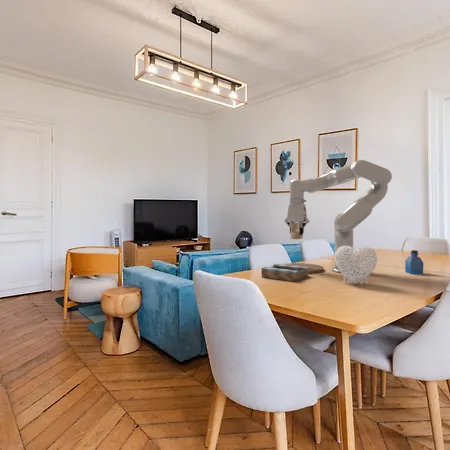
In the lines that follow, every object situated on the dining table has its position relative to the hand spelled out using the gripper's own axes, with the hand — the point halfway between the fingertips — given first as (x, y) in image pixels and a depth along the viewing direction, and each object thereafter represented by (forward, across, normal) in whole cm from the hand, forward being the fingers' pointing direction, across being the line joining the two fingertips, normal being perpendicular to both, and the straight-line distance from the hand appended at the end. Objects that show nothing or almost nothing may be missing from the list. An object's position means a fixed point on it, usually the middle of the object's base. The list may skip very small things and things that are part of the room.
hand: (296, 234), depth 187 cm
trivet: (+21, -2, -1) cm, 21 cm away
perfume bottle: (+20, -55, -24) cm, 63 cm away
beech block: (+3, 0, 0) cm, 3 cm away
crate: (+20, -4, +22) cm, 30 cm away
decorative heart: (+20, -37, +18) cm, 46 cm away
